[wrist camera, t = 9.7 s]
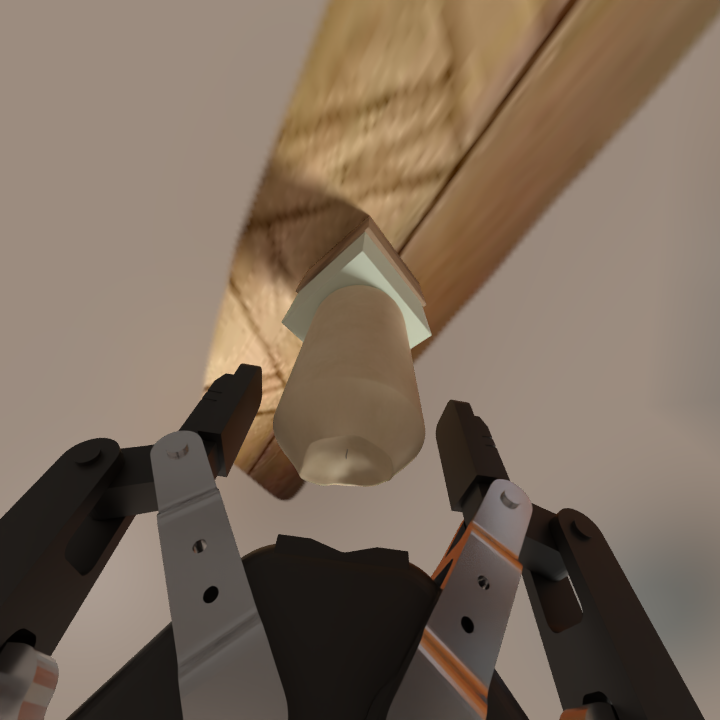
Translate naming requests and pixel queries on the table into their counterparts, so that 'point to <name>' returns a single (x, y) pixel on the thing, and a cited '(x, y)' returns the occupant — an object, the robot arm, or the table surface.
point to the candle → (352, 394)
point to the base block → (382, 245)
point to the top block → (358, 268)
